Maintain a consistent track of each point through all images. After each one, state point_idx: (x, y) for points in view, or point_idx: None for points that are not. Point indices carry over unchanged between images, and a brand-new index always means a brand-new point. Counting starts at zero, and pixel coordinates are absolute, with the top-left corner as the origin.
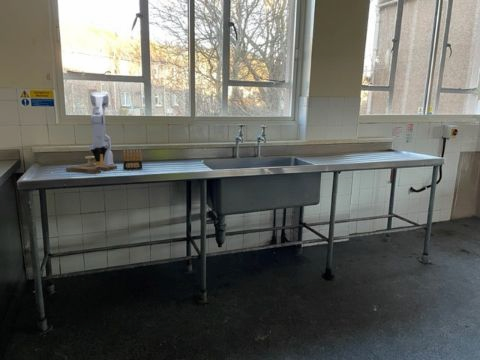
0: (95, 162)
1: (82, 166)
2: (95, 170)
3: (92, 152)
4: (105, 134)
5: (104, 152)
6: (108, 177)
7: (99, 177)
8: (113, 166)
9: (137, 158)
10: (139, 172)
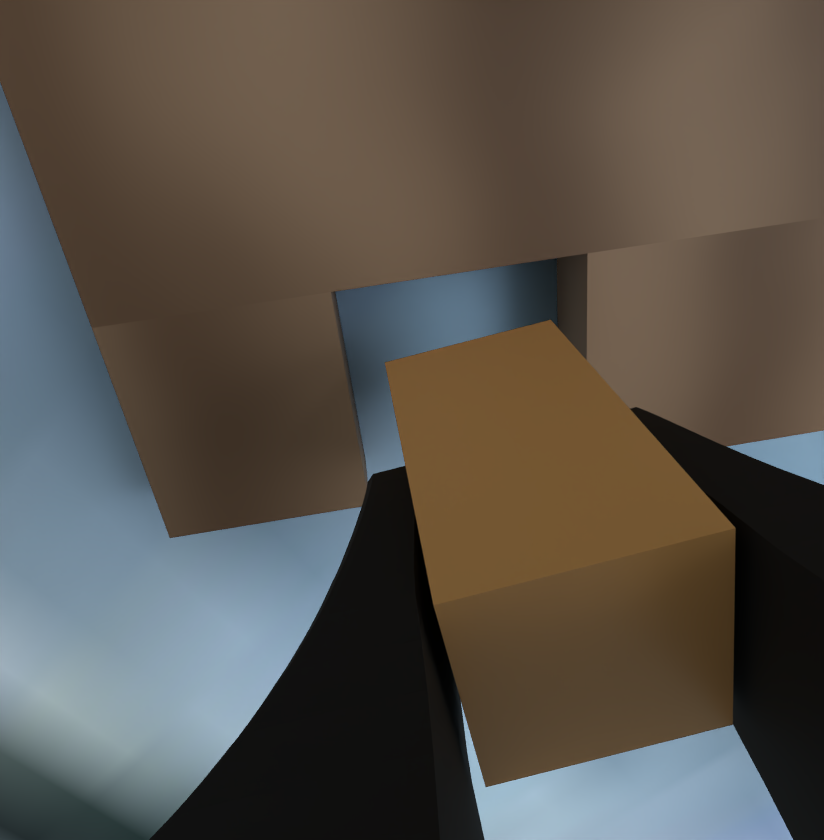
0: (393, 402)
1: None
2: (185, 529)
3: (218, 771)
4: None
5: (809, 827)
6: (130, 831)
7: (27, 768)
8: (817, 425)
9: None
10: (666, 820)
